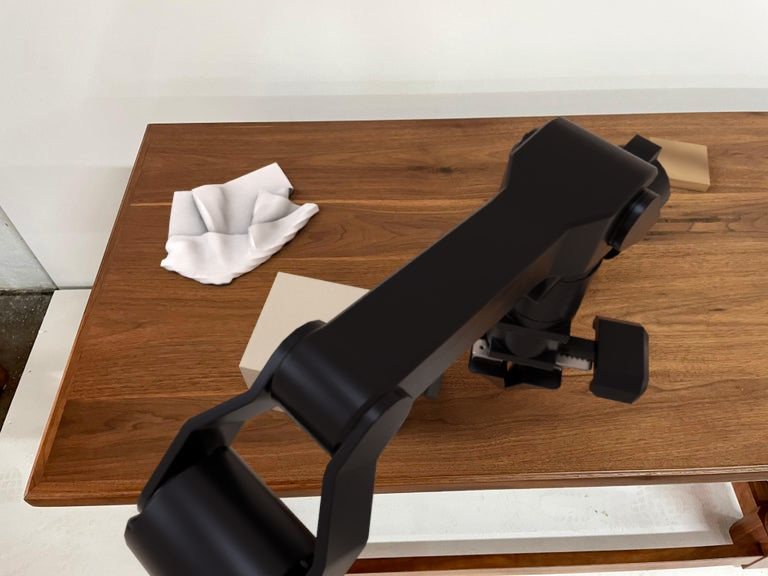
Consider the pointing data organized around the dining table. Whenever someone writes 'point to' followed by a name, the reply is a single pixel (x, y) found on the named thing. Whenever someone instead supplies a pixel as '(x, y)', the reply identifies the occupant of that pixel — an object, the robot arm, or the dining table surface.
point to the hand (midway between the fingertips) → (503, 384)
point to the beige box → (292, 315)
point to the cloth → (232, 225)
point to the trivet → (684, 164)
